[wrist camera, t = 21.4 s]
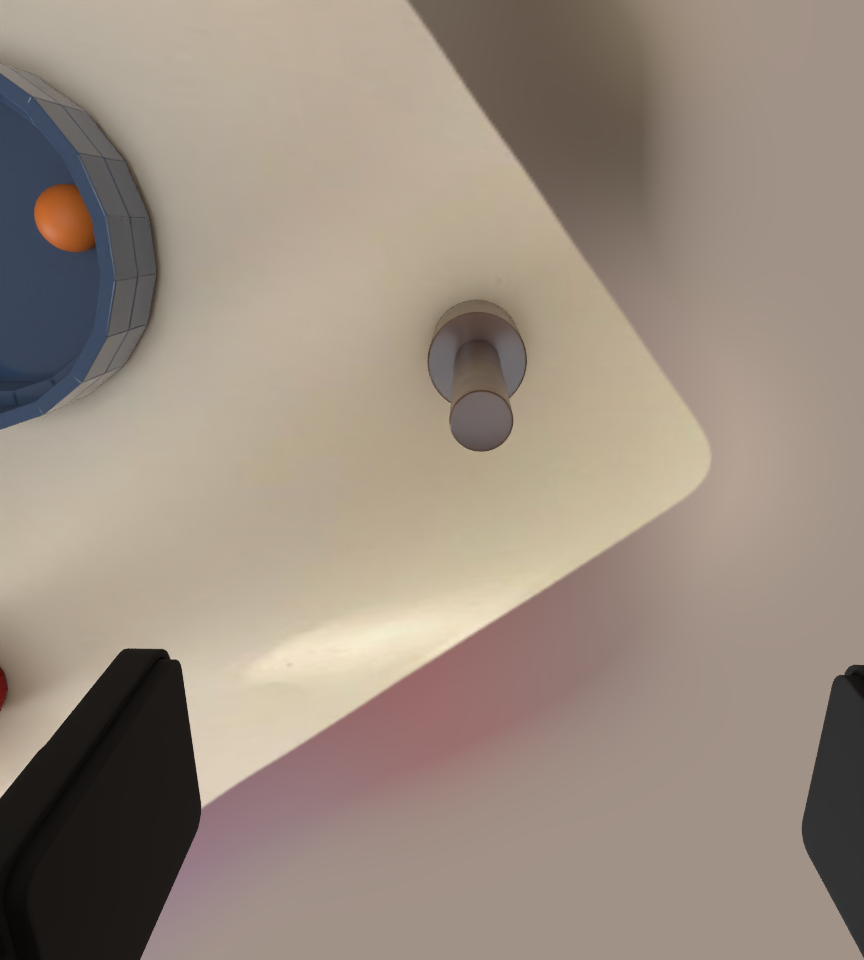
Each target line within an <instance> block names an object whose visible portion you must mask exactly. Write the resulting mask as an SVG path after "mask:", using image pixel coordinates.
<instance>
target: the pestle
mask: <svg viewBox="0 0 864 960" xmlns="http://www.w3.org/2000/svg"><path fill="white" fill-rule="evenodd" d="M526 365H527V355H526V349H525V346H524V343H523V341H522V338H521V336H520V334H519V332H518V330H517V328H516V326H515V323H514V321H513V320H512V318H511V317H510V316H509V315H508V313H507V312H505V311H504V310H503V309H502V308H500V307H499V306H497V305H495V304H493V303H490V302H487V301H482V300H472V301H466V302H463V303H460V304H458V305H456V306H454V307H452V308H451V309H450V310H448V311H447V312H446V313H445V314H444V315H443V317H442V318H441V319H440V321H439V322H438V324H437V326H436V328H435V332H434V335H433V338H432V342H431V345H430V348H429V353H428V371H429V375H430V378H431V381H432V383H433V385H434V387H435V388H436V390H437V391H438V392H439V393H440V395H441V396H442V397H443V398H445V399H446V400H447V401H448V402H450V403H451V406H450V417H449V424H450V429H451V432H452V434H453V436H454V438H455V439H456V440H457V441H458V443H460V444H461V445H462V446H464V447H465V448H467V449H470V450H473V451H480V452H482V451H489V450H492V449H495V448H497V447H498V446H500V445H501V444H502V443H504V442H505V440H506V439H507V438H508V436H509V435H510V433H511V430H512V427H513V414H512V410H511V405H510V401H509V398H510V397H511V396H512V395H513V394H514V393H515V392H516V391H517V389H518V388H519V386H520V384H521V382H522V381H523V378H524V375H525V371H526Z"/></svg>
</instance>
